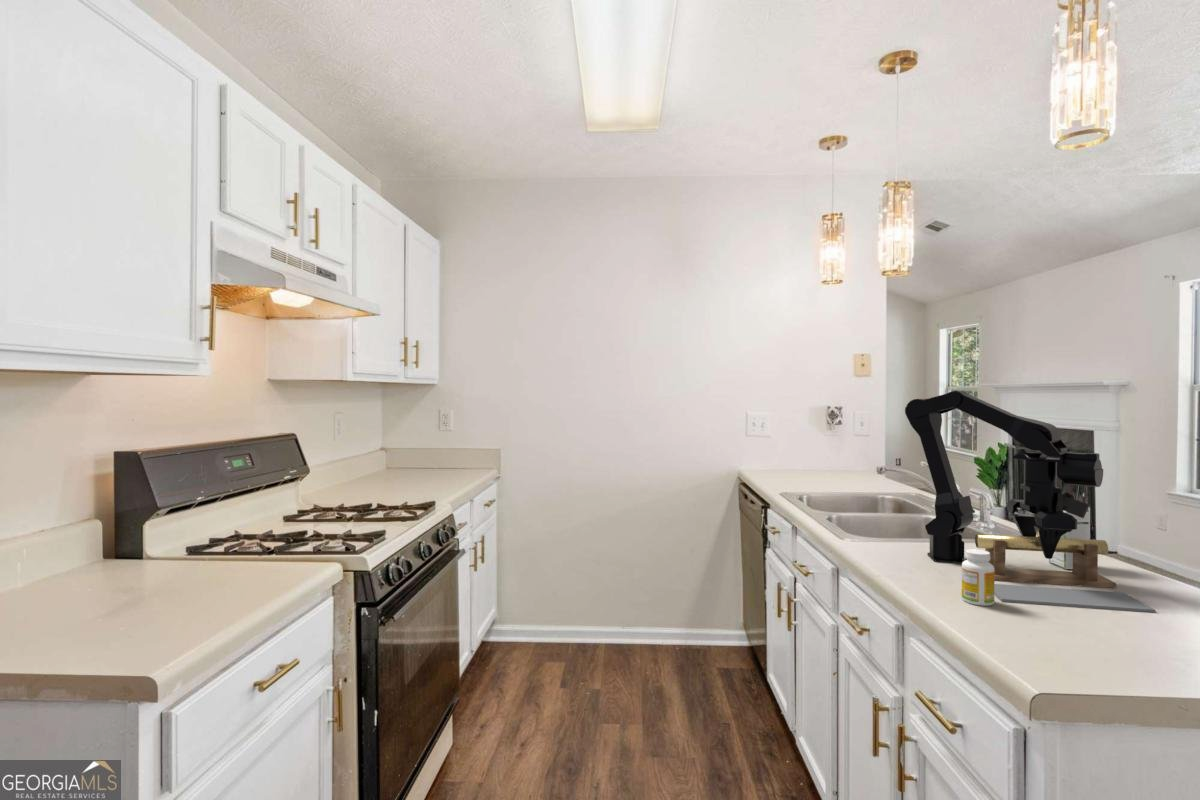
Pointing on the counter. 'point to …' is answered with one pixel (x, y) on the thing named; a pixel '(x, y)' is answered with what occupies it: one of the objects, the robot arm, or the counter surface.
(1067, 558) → the syrup box
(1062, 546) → the brass rail
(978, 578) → the supplement bottle
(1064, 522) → the robot arm
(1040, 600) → the slate mat
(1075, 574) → the cradle rack
